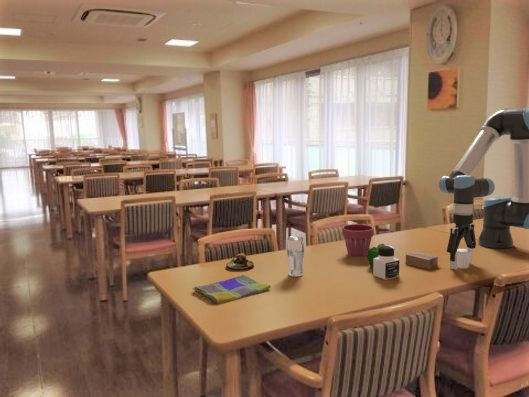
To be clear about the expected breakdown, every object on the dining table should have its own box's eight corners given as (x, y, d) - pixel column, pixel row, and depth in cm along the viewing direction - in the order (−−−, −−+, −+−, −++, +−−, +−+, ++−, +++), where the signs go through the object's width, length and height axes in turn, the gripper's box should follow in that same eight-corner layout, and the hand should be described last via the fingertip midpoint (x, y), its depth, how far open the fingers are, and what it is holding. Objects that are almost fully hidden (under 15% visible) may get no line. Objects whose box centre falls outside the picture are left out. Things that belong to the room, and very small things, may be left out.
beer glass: (306, 272, 185) (305, 236, 183) (302, 277, 179) (301, 240, 177) (290, 271, 188) (289, 235, 185) (285, 276, 181) (284, 239, 179)
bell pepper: (366, 269, 188) (366, 245, 186) (368, 263, 195) (368, 241, 194) (387, 270, 185) (387, 246, 183) (388, 265, 192) (389, 242, 191)
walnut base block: (414, 260, 198) (415, 251, 197) (437, 266, 189) (437, 256, 188) (405, 263, 194) (405, 254, 193) (428, 269, 185) (428, 259, 184)
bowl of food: (220, 268, 196) (220, 251, 195) (240, 262, 204) (240, 245, 203) (240, 273, 188) (239, 256, 186) (259, 266, 196) (259, 250, 195)
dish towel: (272, 291, 166) (272, 284, 165) (212, 307, 153) (212, 299, 152) (247, 279, 180) (247, 272, 180) (191, 292, 167) (190, 285, 167)
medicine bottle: (385, 280, 173) (385, 249, 171) (372, 275, 179) (373, 245, 178) (399, 277, 176) (400, 247, 175) (386, 272, 183) (387, 243, 181)
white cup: (472, 269, 184) (472, 252, 183) (454, 268, 185) (454, 251, 184) (468, 264, 190) (468, 248, 189) (450, 263, 192) (451, 247, 191)
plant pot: (368, 259, 201) (368, 231, 199) (337, 256, 208) (337, 229, 206) (377, 252, 213) (377, 225, 211) (348, 249, 220) (348, 223, 218)
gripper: (469, 208, 194) (467, 258, 197) (438, 215, 181) (436, 269, 184) (486, 211, 188) (484, 262, 191) (455, 218, 175) (453, 273, 178)
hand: (461, 265), depth 188 cm, fingers open, 11 cm apart
